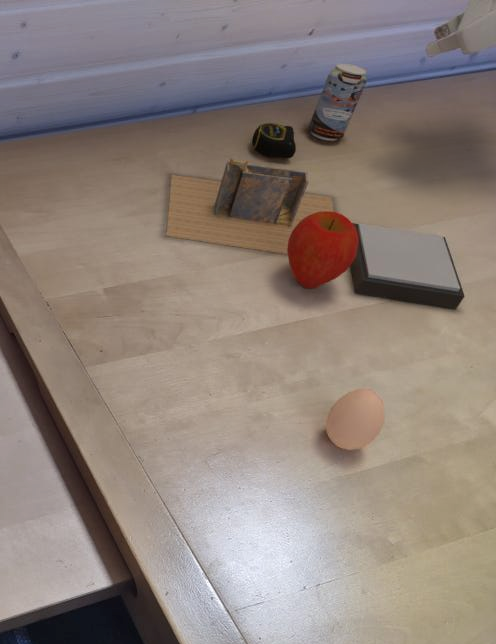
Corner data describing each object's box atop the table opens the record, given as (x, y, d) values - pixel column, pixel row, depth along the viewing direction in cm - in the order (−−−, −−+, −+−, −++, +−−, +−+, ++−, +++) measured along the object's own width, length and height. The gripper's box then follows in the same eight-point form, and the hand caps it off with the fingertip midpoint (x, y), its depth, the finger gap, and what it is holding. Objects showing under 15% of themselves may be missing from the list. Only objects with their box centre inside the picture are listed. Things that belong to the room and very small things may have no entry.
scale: (437, 250, 103) (447, 233, 101) (456, 309, 95) (468, 293, 92) (345, 236, 105) (353, 219, 103) (355, 293, 96) (364, 276, 94)
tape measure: (291, 165, 117) (298, 145, 115) (249, 159, 118) (255, 138, 116) (289, 144, 122) (297, 124, 119) (249, 138, 123) (255, 118, 120)
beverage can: (304, 141, 123) (329, 73, 114) (308, 121, 128) (332, 55, 119) (341, 149, 122) (369, 81, 113) (344, 129, 126) (372, 63, 118)
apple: (281, 256, 101) (307, 191, 93) (342, 274, 99) (374, 210, 91) (268, 291, 96) (294, 226, 88) (332, 312, 93) (365, 246, 85)
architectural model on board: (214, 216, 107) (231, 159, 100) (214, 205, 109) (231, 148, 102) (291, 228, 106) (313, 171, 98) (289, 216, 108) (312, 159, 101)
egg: (369, 465, 77) (402, 418, 71) (319, 457, 77) (348, 410, 71) (361, 427, 80) (393, 379, 74) (314, 419, 81) (341, 371, 75)
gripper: (536, -44, 105) (433, 6, 115) (529, -13, 92) (414, 41, 102) (549, -4, 107) (447, 42, 117) (544, 33, 94) (429, 82, 103)
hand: (431, 42), depth 109 cm, fingers open, 8 cm apart
